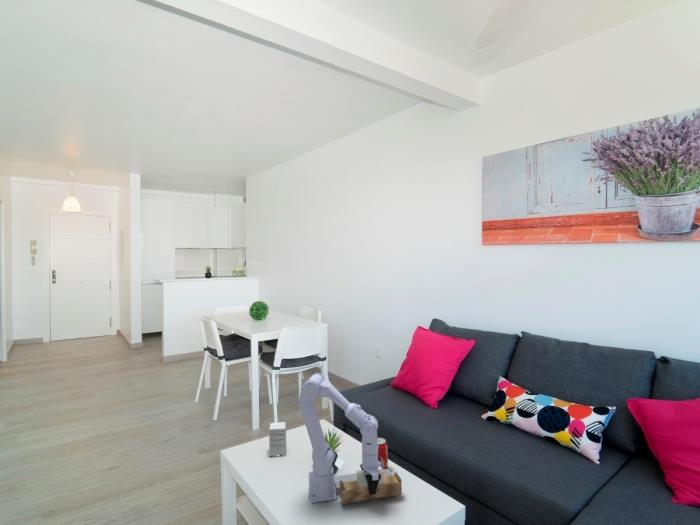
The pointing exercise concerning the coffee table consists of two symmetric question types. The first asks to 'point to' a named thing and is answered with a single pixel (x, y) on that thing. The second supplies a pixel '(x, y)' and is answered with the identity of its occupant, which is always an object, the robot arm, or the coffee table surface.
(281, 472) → the coffee table surface
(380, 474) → the cream cube
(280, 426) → the supplement box
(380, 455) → the soda can
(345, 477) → the dock
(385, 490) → the brown wooden long block
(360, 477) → the block
